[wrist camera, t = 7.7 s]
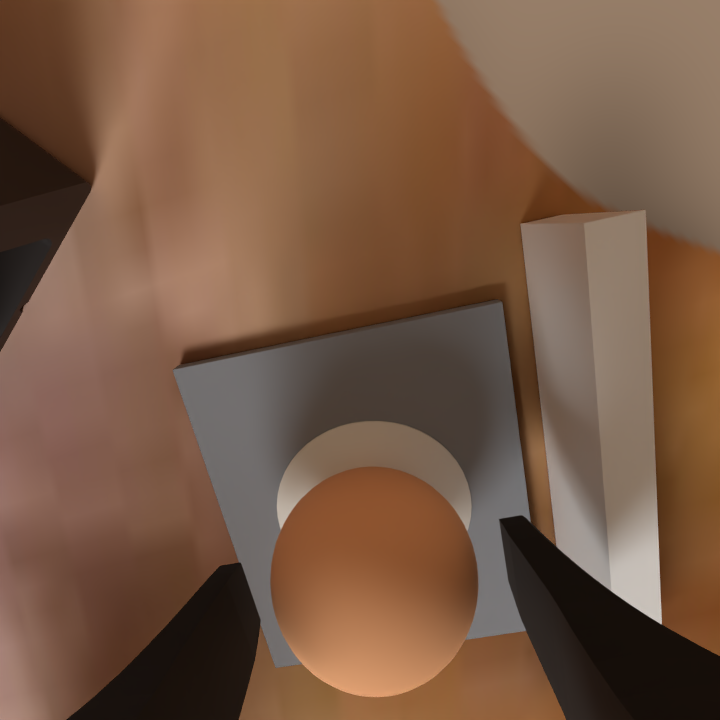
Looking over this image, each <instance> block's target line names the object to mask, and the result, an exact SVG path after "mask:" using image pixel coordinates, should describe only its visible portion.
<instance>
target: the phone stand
mask: <svg viewBox="0 0 720 720" xmlns="http://www.w3.org/2000/svg"><path fill="white" fill-rule="evenodd" d="M90 190H91V186H90V184H89V183H88V182H86V181H85V180H84V179H82V178H81V177H80V176H78V175H77V174H76V173H74V172H73V171H71V170H70V169H69V168H67V167H66V166H65V165H63V164H62V163H61V162H59V161H58V160H57V159H55V158H54V157H53V156H51V155H50V154H49V153H47V152H46V151H44V150H43V149H42V148H40V147H39V146H38V145H36V144H35V143H34V142H32V141H31V140H30V139H28V138H27V137H26V136H24V135H23V134H22V133H20V132H19V131H17V130H16V129H15V128H13V127H12V126H11V125H9V124H8V123H7V122H5V121H4V120H3V119H1V118H0V351H1V349H2V348H3V346H4V344H5V342H6V341H7V339H8V337H9V335H10V333H11V332H12V330H13V328H14V326H15V325H16V323H17V321H18V319H19V317H20V316H21V314H22V311H20V309H21V307H22V306H23V305H24V304H26V303H28V301H29V300H30V298H31V296H32V294H33V293H34V291H35V289H36V287H37V285H38V284H39V282H40V280H41V278H42V277H43V275H44V273H45V271H46V269H47V268H48V266H49V264H50V262H51V261H52V259H53V257H54V255H55V253H56V252H57V250H58V248H59V246H60V245H61V243H62V241H63V239H64V238H65V236H66V234H67V232H68V230H69V229H70V227H71V225H72V223H73V222H74V220H75V218H76V216H77V214H78V213H79V211H80V209H81V207H82V206H83V204H84V202H85V200H86V198H87V197H88V195H89V193H90Z"/></svg>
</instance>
